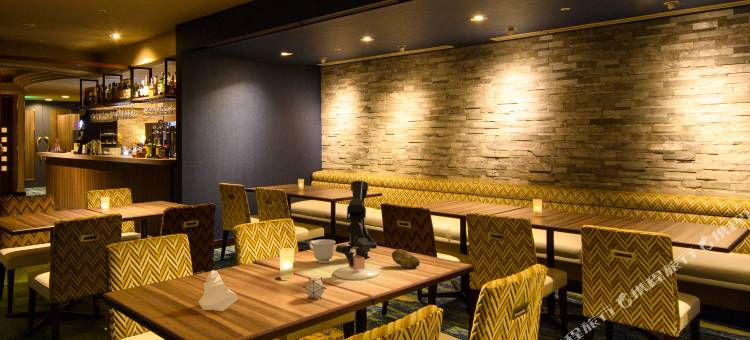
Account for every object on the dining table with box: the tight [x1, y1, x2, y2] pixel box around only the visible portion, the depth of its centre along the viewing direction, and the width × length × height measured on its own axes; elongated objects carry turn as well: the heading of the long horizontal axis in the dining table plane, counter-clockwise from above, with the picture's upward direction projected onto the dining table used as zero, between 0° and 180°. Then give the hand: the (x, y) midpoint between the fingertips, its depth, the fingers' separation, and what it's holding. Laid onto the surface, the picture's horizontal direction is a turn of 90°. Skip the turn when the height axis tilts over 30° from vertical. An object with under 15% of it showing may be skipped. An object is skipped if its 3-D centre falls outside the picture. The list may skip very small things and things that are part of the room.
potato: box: [391, 248, 421, 269], centre depth 254 cm, size 8×13×8 cm, turn 49°
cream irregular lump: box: [198, 270, 239, 312], centre depth 198 cm, size 12×15×14 cm
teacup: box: [308, 238, 336, 264], centre depth 265 cm, size 12×15×10 cm
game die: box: [302, 276, 328, 300], centre depth 207 cm, size 9×8×10 cm
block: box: [348, 255, 366, 270], centre depth 242 cm, size 5×5×5 cm
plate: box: [333, 265, 380, 281], centre depth 242 cm, size 20×20×1 cm
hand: (356, 265), depth 242 cm, fingers closed on block, 5 cm apart
